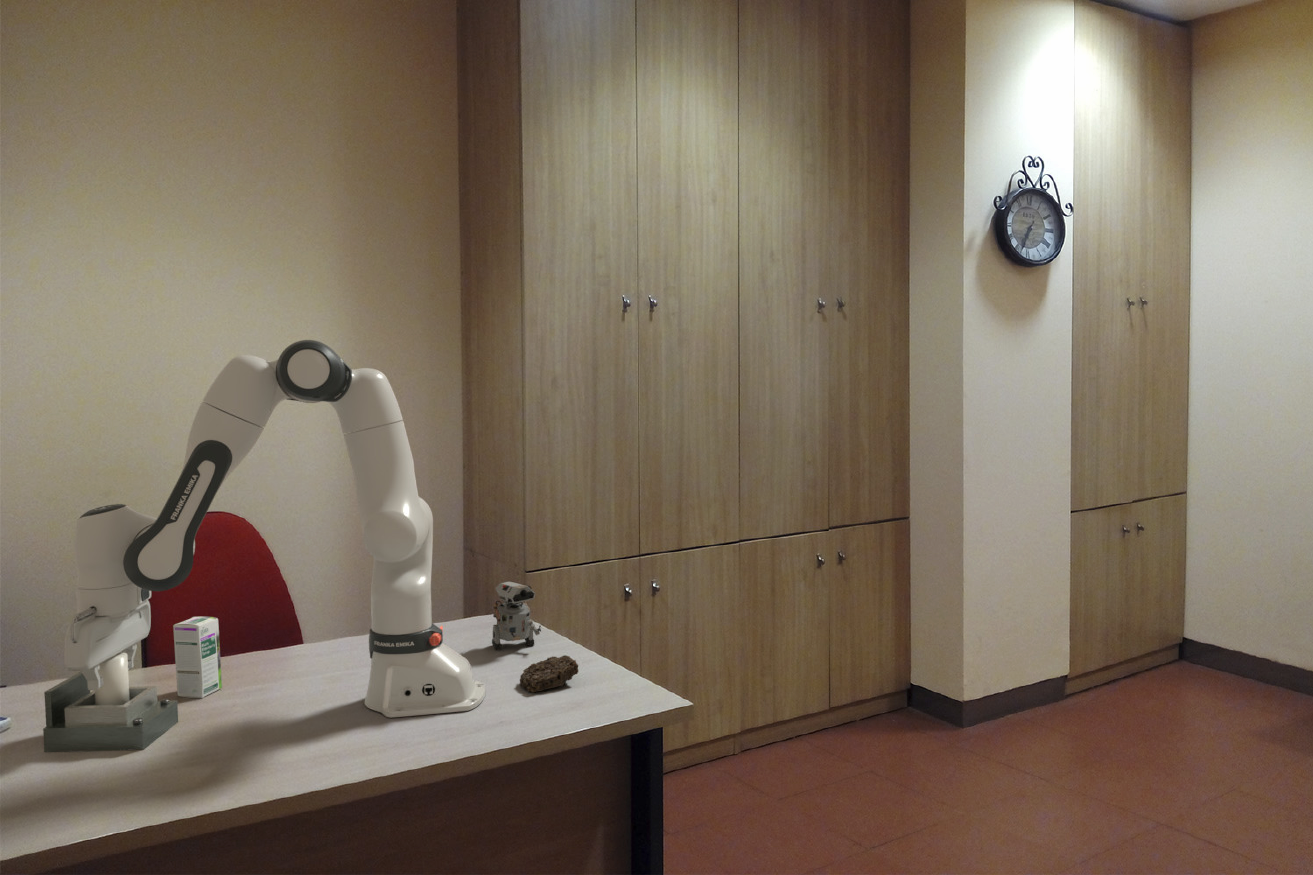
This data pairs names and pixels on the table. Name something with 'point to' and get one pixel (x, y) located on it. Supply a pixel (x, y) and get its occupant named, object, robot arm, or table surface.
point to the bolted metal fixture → (104, 718)
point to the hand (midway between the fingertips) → (111, 679)
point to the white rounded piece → (113, 681)
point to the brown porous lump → (548, 673)
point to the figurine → (513, 614)
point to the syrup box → (197, 657)
